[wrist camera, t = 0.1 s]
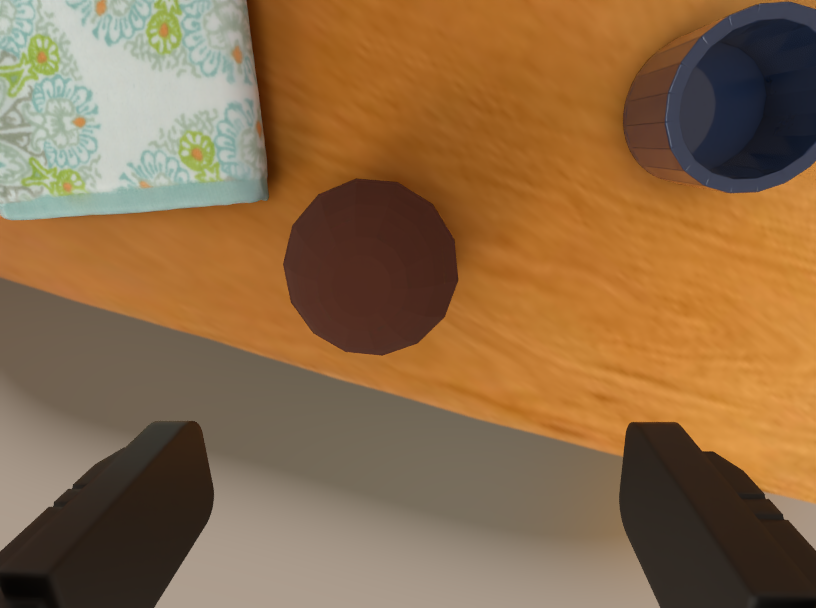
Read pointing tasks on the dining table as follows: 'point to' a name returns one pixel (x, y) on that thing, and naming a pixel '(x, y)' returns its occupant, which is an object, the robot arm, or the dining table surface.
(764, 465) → the dining table surface
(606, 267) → the dining table surface
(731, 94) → the cup
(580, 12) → the dining table surface
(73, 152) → the towel
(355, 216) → the muffin
